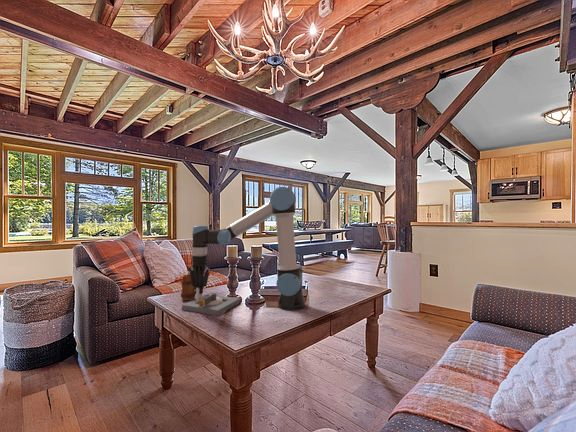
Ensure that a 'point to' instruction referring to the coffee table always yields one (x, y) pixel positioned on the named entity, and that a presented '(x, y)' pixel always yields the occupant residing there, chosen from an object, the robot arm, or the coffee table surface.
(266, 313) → the coffee table surface
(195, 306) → the dial plate
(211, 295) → the dial
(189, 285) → the mug
